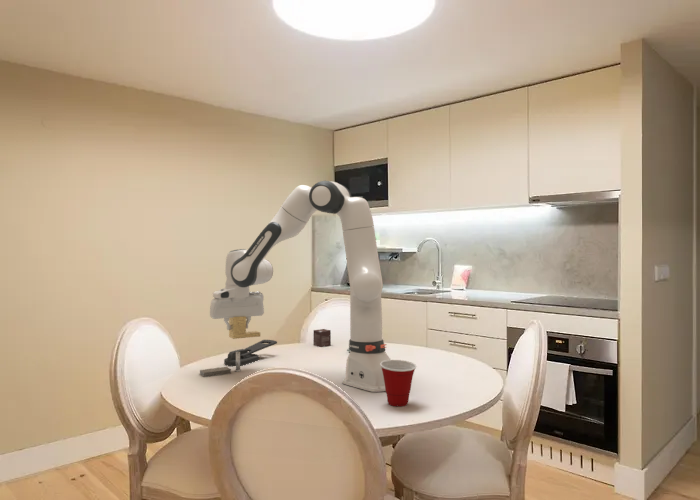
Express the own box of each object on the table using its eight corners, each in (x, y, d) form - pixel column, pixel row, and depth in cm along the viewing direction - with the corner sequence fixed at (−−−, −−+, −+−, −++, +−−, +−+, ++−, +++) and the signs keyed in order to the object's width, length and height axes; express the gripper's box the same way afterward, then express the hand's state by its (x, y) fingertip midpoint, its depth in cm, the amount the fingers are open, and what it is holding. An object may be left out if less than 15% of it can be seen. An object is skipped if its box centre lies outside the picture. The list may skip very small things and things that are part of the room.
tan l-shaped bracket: (256, 334, 205) (256, 314, 205) (260, 336, 201) (261, 315, 201) (229, 336, 199) (229, 315, 199) (233, 338, 195) (233, 317, 195)
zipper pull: (279, 340, 225) (236, 350, 205) (279, 356, 226) (236, 367, 205) (263, 338, 230) (220, 348, 209) (263, 354, 230) (220, 364, 209)
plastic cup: (396, 411, 148) (396, 369, 148) (372, 402, 157) (372, 362, 157) (424, 405, 155) (424, 364, 155) (400, 396, 163) (399, 357, 163)
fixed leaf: (243, 371, 197) (243, 353, 197) (203, 377, 190) (203, 357, 189) (238, 369, 201) (238, 350, 201) (200, 374, 194) (199, 355, 194)
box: (323, 344, 253) (323, 328, 253) (331, 345, 249) (331, 330, 249) (313, 345, 250) (313, 330, 249) (320, 347, 245) (320, 331, 245)
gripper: (260, 290, 207) (260, 325, 207) (208, 292, 196) (208, 330, 196) (266, 291, 201) (266, 328, 201) (213, 294, 191) (213, 332, 191)
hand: (237, 329), depth 199 cm, fingers closed on tan l-shaped bracket, 5 cm apart
